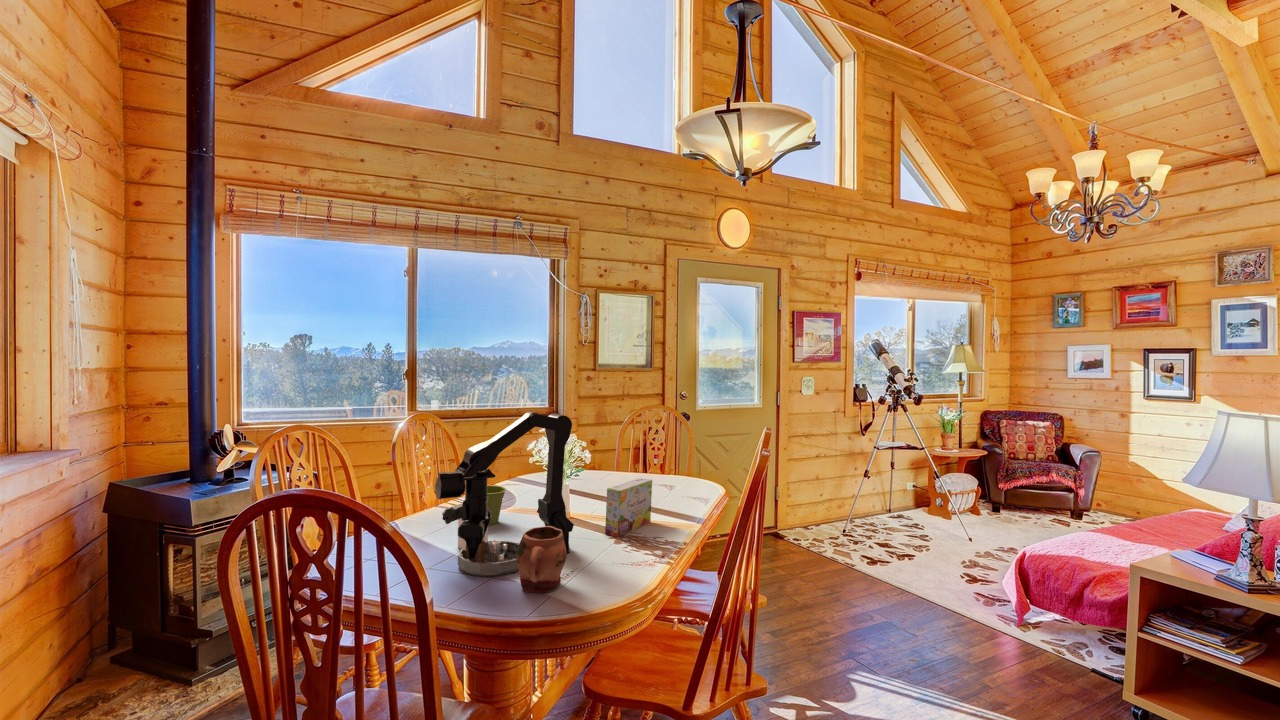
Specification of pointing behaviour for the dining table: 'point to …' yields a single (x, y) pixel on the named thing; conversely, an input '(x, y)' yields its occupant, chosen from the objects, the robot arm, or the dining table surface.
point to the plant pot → (495, 501)
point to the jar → (462, 542)
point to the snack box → (628, 506)
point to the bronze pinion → (479, 554)
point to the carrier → (492, 560)
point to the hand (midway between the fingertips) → (475, 552)
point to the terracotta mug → (541, 559)
